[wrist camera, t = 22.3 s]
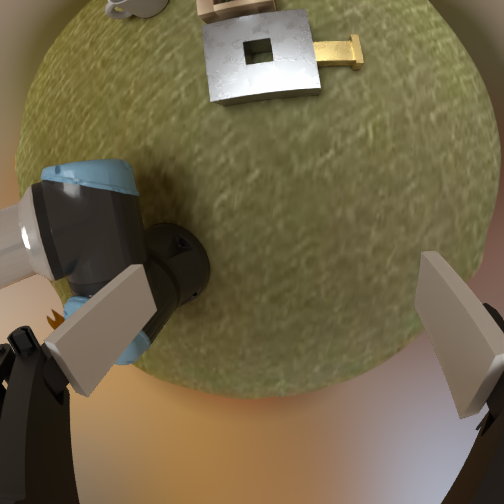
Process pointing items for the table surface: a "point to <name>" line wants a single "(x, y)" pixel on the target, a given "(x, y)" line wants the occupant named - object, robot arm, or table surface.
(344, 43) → the brass square peg
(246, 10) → the rack
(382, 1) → the table surface
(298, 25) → the socket block
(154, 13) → the cup
